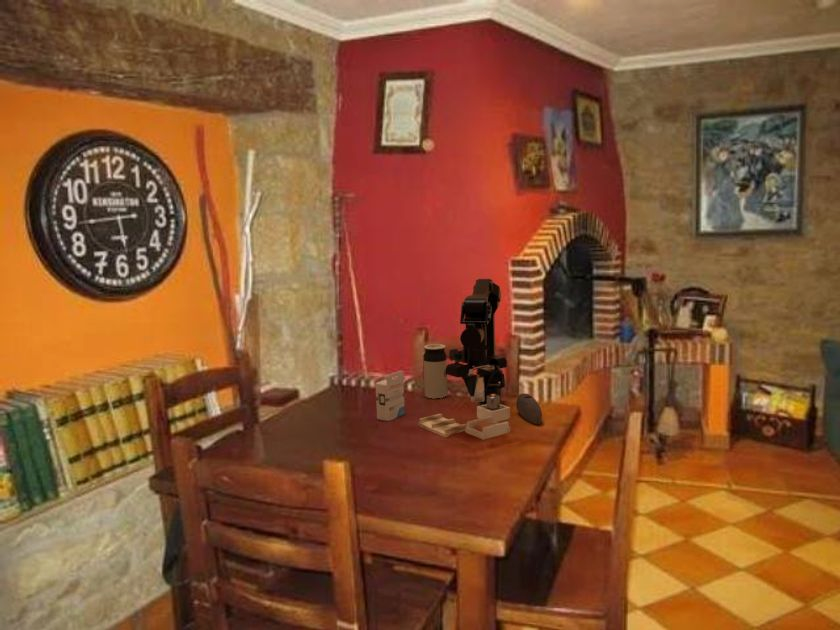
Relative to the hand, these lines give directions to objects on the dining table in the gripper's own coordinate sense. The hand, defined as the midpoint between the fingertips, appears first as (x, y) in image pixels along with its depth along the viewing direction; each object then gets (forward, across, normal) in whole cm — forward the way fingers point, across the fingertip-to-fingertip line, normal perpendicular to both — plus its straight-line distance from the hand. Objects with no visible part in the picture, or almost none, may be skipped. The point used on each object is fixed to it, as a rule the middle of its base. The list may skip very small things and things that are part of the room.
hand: (477, 395), depth 187 cm
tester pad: (+12, -2, +2) cm, 12 cm away
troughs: (+11, +5, -10) cm, 16 cm away
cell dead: (+11, -12, -6) cm, 17 cm away
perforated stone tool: (+12, -20, +2) cm, 23 cm away
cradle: (+11, -2, +2) cm, 12 cm away
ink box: (+12, +11, -30) cm, 34 cm away
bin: (+11, -12, -6) cm, 18 cm away
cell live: (+2, 0, 0) cm, 2 cm away
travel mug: (+12, -14, -40) cm, 44 cm away
